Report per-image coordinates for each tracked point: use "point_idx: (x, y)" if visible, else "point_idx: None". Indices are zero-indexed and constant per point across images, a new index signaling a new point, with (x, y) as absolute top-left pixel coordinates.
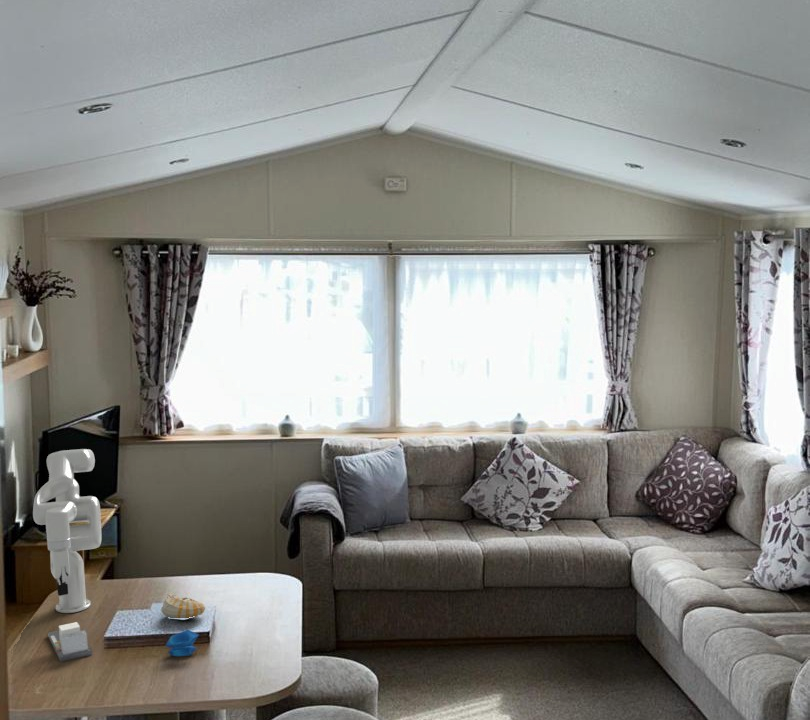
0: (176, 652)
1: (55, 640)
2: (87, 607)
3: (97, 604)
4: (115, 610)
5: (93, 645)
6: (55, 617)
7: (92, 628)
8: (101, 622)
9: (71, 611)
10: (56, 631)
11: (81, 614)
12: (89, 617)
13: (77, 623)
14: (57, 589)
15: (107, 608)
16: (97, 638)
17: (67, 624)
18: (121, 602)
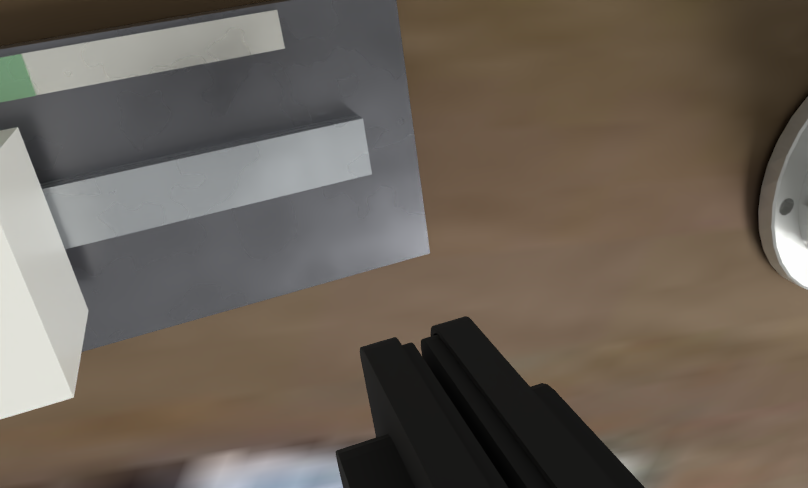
0: None
1: (126, 66)
2: (780, 273)
3: (798, 323)
4: (647, 444)
5: None
6: (759, 48)
7: None
8: None
9: (772, 172)
10: (390, 71)
11: (704, 239)
12: (624, 299)
13: (6, 412)
14: (510, 378)
15: (704, 392)
16: (171, 413)
17: (5, 291)
18: (743, 455)
